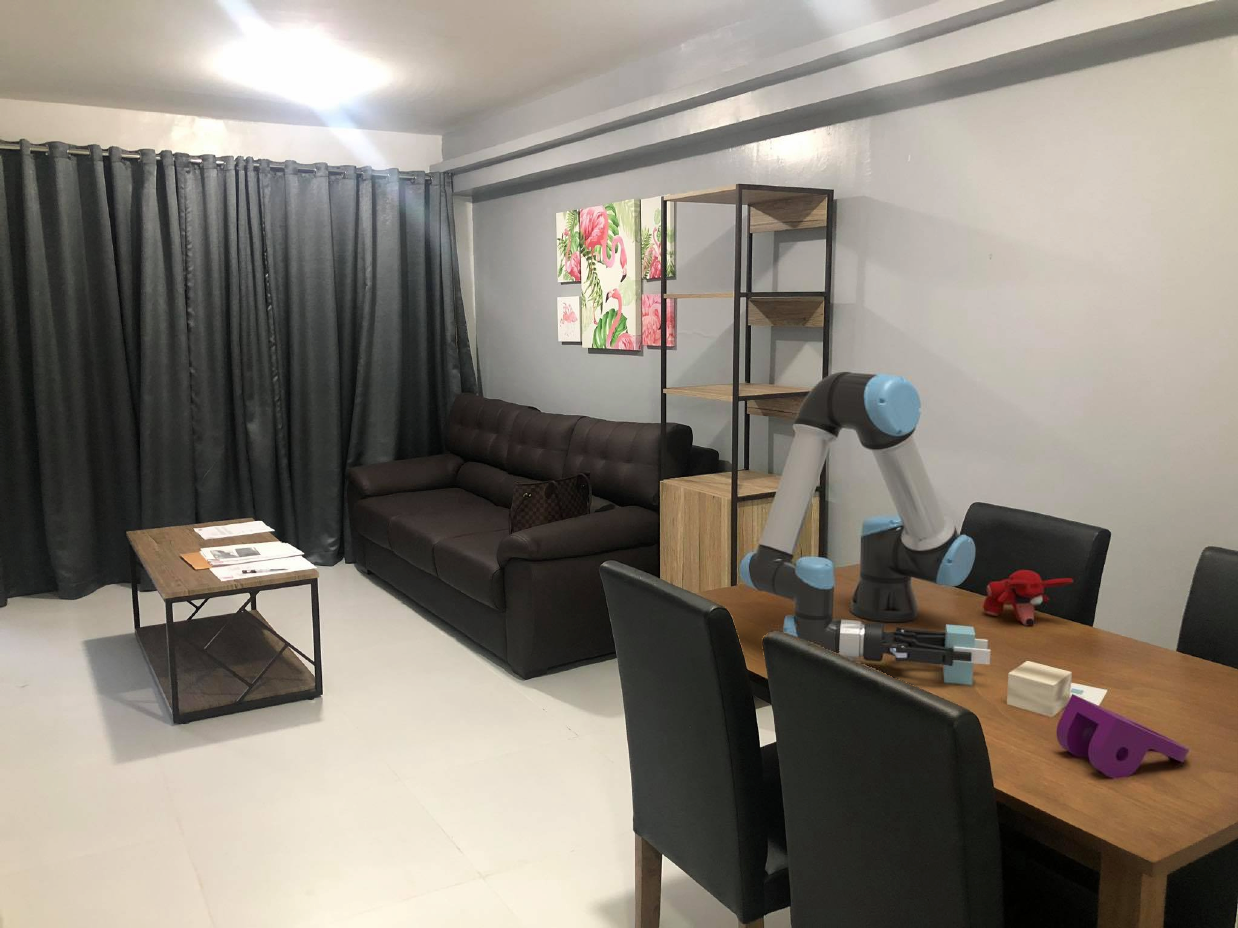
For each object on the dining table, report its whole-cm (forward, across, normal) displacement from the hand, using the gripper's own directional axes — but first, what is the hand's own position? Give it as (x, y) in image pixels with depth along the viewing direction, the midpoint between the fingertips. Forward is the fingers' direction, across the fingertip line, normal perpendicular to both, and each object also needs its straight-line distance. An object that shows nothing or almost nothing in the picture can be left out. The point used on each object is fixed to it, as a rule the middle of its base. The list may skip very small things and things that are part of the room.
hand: (988, 651), depth 186 cm
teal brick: (-5, 0, -6) cm, 8 cm away
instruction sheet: (+15, +3, -6) cm, 17 cm away
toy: (+11, -42, -6) cm, 44 cm away
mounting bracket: (+19, +28, -6) cm, 35 cm away
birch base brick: (+8, +9, -6) cm, 13 cm away
